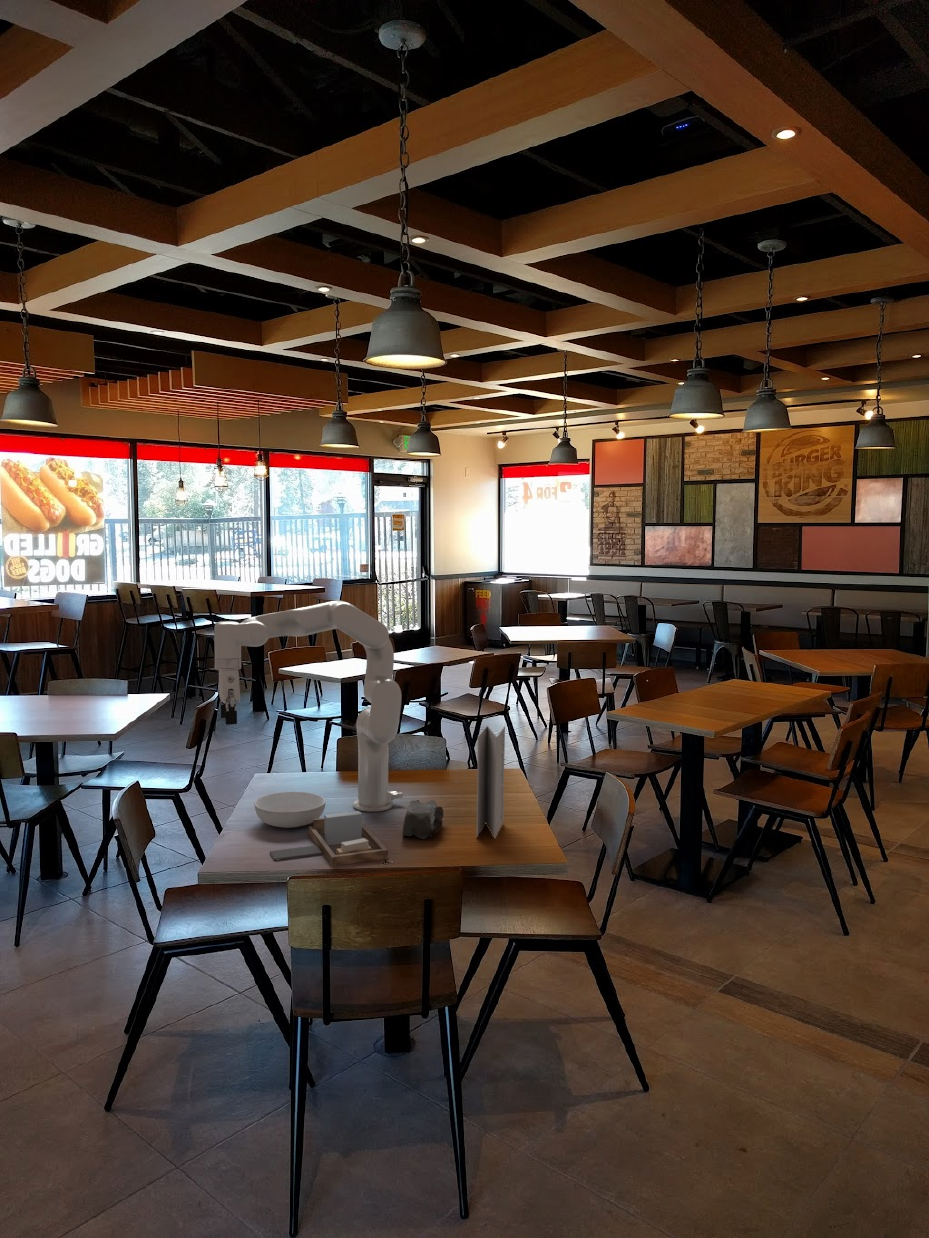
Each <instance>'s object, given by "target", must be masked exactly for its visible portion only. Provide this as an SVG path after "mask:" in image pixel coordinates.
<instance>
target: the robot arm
mask: <svg viewBox="0 0 929 1238" xmlns="http://www.w3.org/2000/svg"><path fill="white" fill-rule="evenodd" d="M213 629H214V631H213V633H214V635H213V636H214V637H213V638H214V669H215V670H216V671H218V692H219V693H218V695H219V699H220V718H221V719H225V725H226V726H230V725H237V724H238V710H237V703H238V704H239V703H240V702H241V689H240V687H241V686H240V675H239V670H241V669H242V647H252V648H253V647H255V648H257V647H261V646H263V645H265V644H266V643H267V642H268V640H269V639H272V638H273V639H274V638H278V637H305V636H309V635H315V634H318V633H322V632H327V631H331V630H336V629H338V630H339V631H341V632H342V633H344V634H345V635H347V636H348V637H350V638H352V639H354V640H355V641H356V642H357V643H359V644H360V645H362V646H363V649H364V650H365V654H366V665H365V666H366V668H365V675H364V682H363V688H362V689H363V696H364V698H365V700H366V701H368V702H369V703H370V707H367V708H364V709H363V710H362V711H360V713H359V714H358V716H357V718H356V726H355V727H356V736H357V747H358V749H357V751H358V753H357V755H358V757H357V758H358V759H357V760H358V762H357V763H358V765H357V766H358V767H357V768H358V769H357V770H358V771H357V773H358V775H357V782H358V783H357V790H358V791H357V792H358V793H357V795H358V796H357V799H356V800H353V805H352V806H353V808H355V809H356V810H357V811H360V812H370V813H371V812H382V811H388V810H389V809H391V808H392V807H393V806H394V800H398V799H399V800H400V799H403V797H404V795H403V792H397V791H390V790H389V744H390V743H391V742H392V741H393V740H394V739H395V737H396V735H397V733H398V729H399V724H400V716H401V709H402V696H403V695H402V689H401V688H400V685H399V683H397V681H395V680H394V679H393V677H394V665H395V664H394V662H395V652H394V647H393V644H392V641H391V639H390V638H389V637H390V634H389V633H390V632H389V630H388V628H387V626H386V625H385V624H384V623H382V622H381V621H380V620H377V619H376V618H374V617H373V616H372V615H369V614H367V613H366V612H364V611H362V610H361V609H359V608H357V607H356V606H355V605H353V604H351V603H349V602H346V601H344V600H331V601H327V602H322V603H316V604H313V605H308V606H305V607H304V606H303V607H298V608H295V609H287V610H285V611H284V610H283V611H277V612H272V613H266V614H261V615H257V616H252V617H248V618H246V619H244V620H243V621H241V622H240V623H239V622H237V621H231V620H230V621H226V620H224V621H218V622H216V623H215V624H214V628H213Z"/></svg>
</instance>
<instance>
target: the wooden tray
mask: <svg viewBox="0 0 929 1238" xmlns="http://www.w3.org/2000/svg"><path fill="white" fill-rule="evenodd" d="M321 835H325V828H324V817H319V818H316V819H313V822H312V825H310V826H308V836H310V839H311V840H312V841H313V842H314V843H315V845H317V846H318V847H319V849H320V850H321V851H322V855H323V856H324V857H325V859H326V860H327V861H328V863H329V864H330V865H331V867H335V866H343V865H351V864H358V863H363V862H364V863H366V862H373V861H380V860H387V859H389V849H388V848H387V847H386V846H385V845H384V844H383V843H382V841H380V839H379V838H378V837H377V836H375V834H374V833H373V832H372V831H371V830H370V829H369V828H368V827H367V826H366V824H364V822H362V838H365V839H366V840H368V841H369V844H370V846H371V848H373V849H372V850H371V851H363V852H356V853H348V854H340V855H336V853H334V851H333V850H332V849H331V848H330V847H329V846H330V845H327V844H326V842H325V839H324V838H323V837H322V836H321Z"/></svg>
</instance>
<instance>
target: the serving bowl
mask: <svg viewBox="0 0 929 1238" xmlns="http://www.w3.org/2000/svg"><path fill="white" fill-rule="evenodd" d="M253 805H254V811H255V814H256V815H257V817H258V818H259V820H261V822H263V823H265V824H267V825H269V826H272V827H278V828H283V829H284V828H285V829H295V828H299V827H303V826H307V825H310V824H313V819H316V818H321V816H322V814H323V813H324V811H325V808H326V799H325V798H324V797H323V796H321V795H319V794H317V793H313V792H312V793H310V792H305V791H284V792H283V791H282V792H275V793H270V794H266V795H264V796H261V797H258V798H257V799H256V800H255V801H254V804H253Z"/></svg>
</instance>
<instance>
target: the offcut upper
mask: <svg viewBox="0 0 929 1238" xmlns="http://www.w3.org/2000/svg"><path fill="white" fill-rule="evenodd" d="M369 844H370V843H369V841H368V840H366V839H365V838H364V837H362V839H357V840H352V841H347V842H342V843H341V844H340V846H341V847H340V848H341V849H342V850H343V851H345V852H348V851H353V850H358V849H363V848H367V847H369V846H370V845H369Z"/></svg>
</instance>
